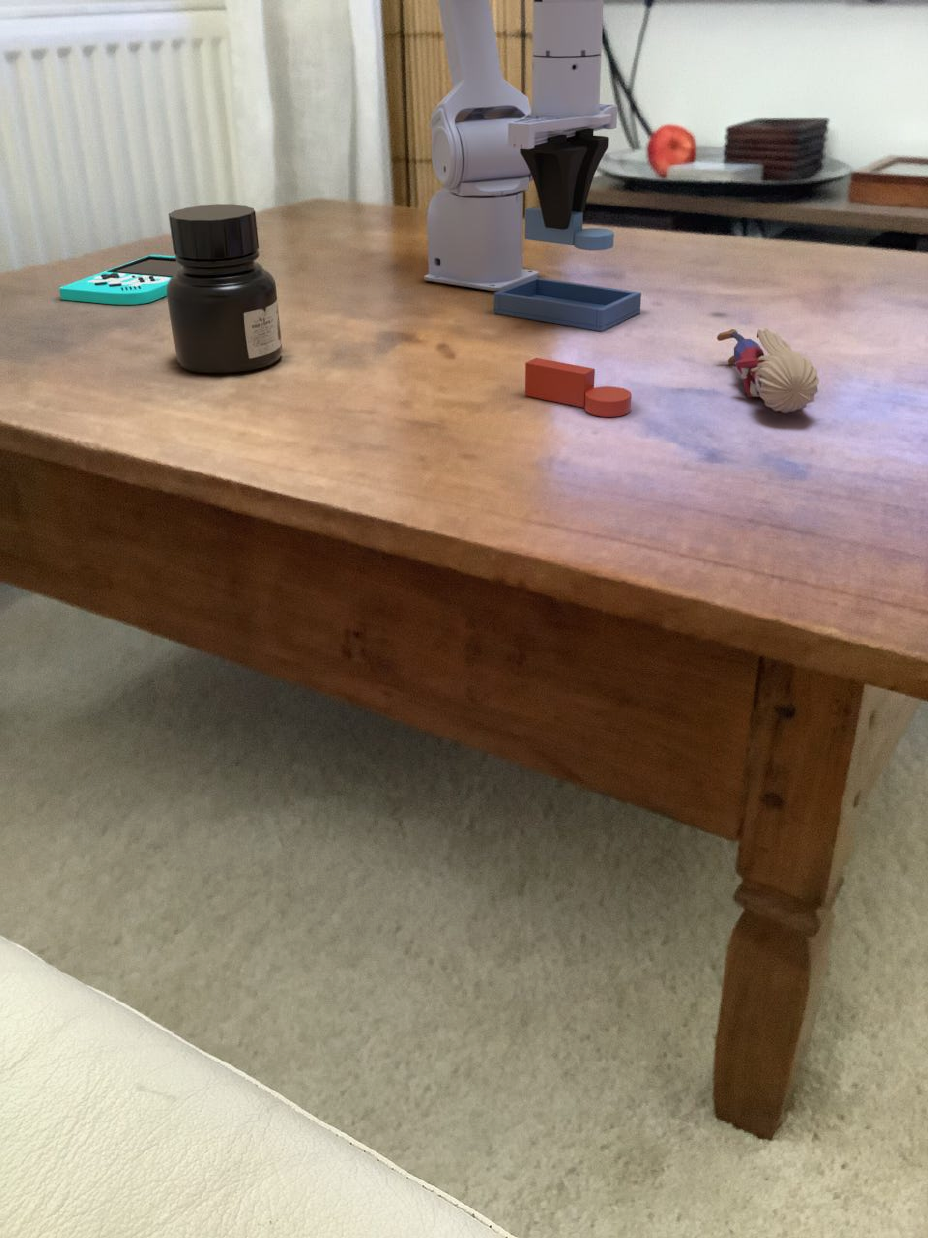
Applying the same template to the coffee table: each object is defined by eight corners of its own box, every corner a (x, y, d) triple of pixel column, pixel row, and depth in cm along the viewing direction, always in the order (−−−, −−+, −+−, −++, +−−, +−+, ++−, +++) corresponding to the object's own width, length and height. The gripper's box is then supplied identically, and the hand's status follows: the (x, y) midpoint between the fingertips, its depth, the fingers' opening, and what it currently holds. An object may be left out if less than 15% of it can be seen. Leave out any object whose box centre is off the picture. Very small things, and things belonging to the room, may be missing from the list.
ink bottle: (284, 374, 92) (269, 220, 86) (174, 381, 91) (150, 226, 85) (281, 340, 100) (267, 198, 94) (180, 347, 99) (159, 203, 93)
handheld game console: (57, 299, 114) (54, 285, 114) (151, 264, 127) (149, 251, 126) (139, 307, 111) (137, 293, 110) (227, 270, 124) (226, 257, 123)
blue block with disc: (518, 241, 102) (518, 210, 100) (538, 234, 104) (539, 204, 103) (600, 252, 97) (602, 220, 96) (620, 244, 100) (621, 213, 98)
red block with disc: (517, 399, 86) (518, 365, 84) (541, 386, 88) (542, 354, 87) (616, 420, 81) (618, 385, 80) (639, 406, 84) (641, 372, 82)
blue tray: (493, 312, 107) (493, 292, 106) (534, 296, 112) (534, 276, 111) (601, 331, 101) (602, 310, 100) (640, 312, 106) (641, 292, 105)
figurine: (699, 324, 90) (751, 371, 77) (748, 296, 90) (809, 339, 76) (728, 385, 93) (783, 441, 79) (776, 359, 92) (840, 411, 79)
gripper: (562, 63, 86) (557, 246, 93) (651, 49, 96) (641, 216, 103) (486, 60, 90) (487, 236, 97) (580, 47, 100) (575, 208, 107)
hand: (562, 225), depth 100 cm, fingers closed on blue block with disc
